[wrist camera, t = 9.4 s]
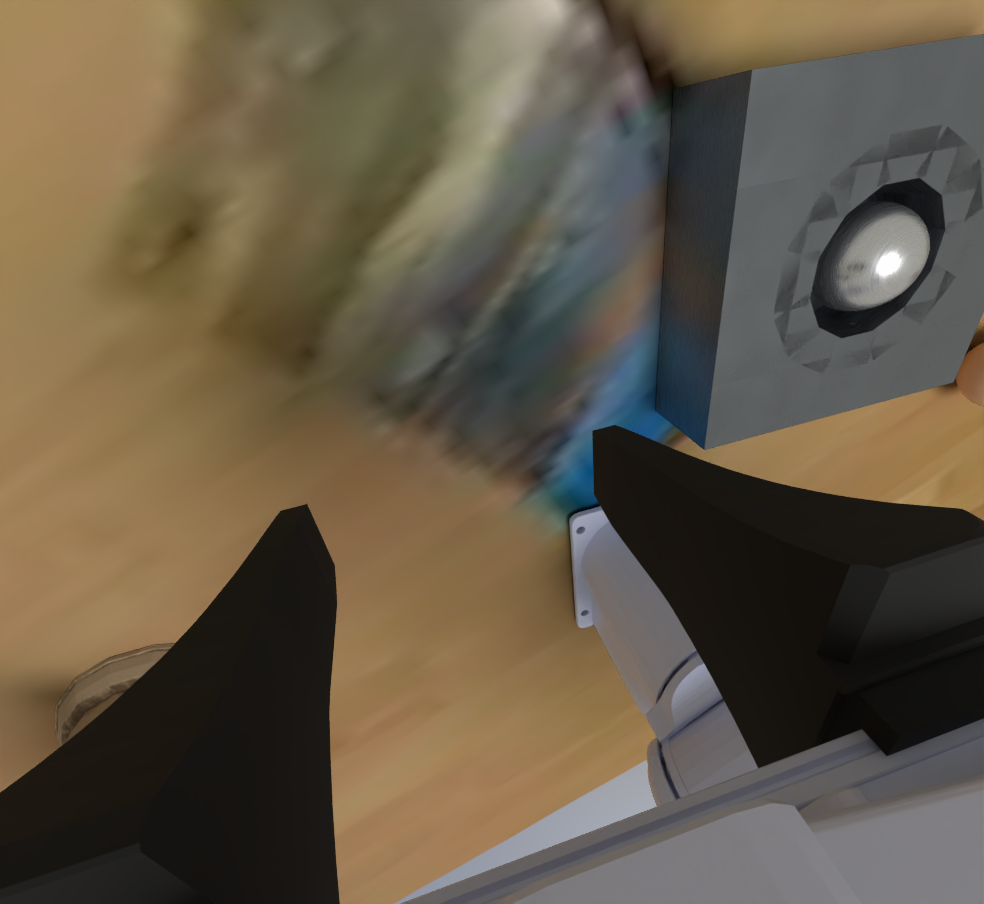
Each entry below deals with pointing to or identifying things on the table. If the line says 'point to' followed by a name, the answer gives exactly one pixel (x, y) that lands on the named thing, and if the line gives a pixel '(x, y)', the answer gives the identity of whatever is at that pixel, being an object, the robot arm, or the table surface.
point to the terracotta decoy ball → (972, 375)
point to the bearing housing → (816, 236)
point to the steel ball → (871, 257)
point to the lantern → (102, 688)
